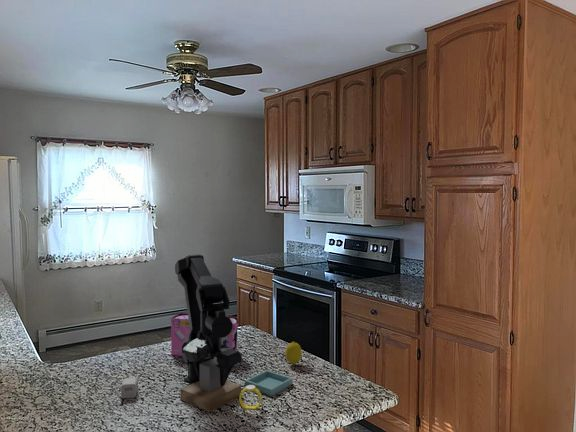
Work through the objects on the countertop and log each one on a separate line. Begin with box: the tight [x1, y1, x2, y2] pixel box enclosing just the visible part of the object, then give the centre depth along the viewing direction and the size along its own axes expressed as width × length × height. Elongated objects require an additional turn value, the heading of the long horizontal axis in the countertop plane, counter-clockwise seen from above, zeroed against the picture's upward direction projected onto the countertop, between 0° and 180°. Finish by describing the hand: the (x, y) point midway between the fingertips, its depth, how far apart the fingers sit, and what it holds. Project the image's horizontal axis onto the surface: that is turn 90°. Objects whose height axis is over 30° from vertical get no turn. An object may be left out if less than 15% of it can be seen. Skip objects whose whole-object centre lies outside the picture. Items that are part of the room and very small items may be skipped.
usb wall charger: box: [120, 377, 139, 399], centre depth 131 cm, size 4×7×4 cm, turn 11°
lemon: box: [284, 341, 303, 366], centre depth 153 cm, size 6×6×8 cm
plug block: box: [200, 359, 222, 392], centre depth 128 cm, size 4×5×7 cm
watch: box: [238, 385, 263, 410], centre depth 122 cm, size 6×3×6 cm, turn 85°
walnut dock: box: [179, 380, 242, 412], centre depth 128 cm, size 12×12×3 cm
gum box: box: [170, 312, 239, 360], centre depth 162 cm, size 24×8×14 cm, turn 76°
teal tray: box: [244, 369, 293, 397], centre depth 136 cm, size 10×10×2 cm
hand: (211, 381), depth 128 cm, fingers open, 9 cm apart
